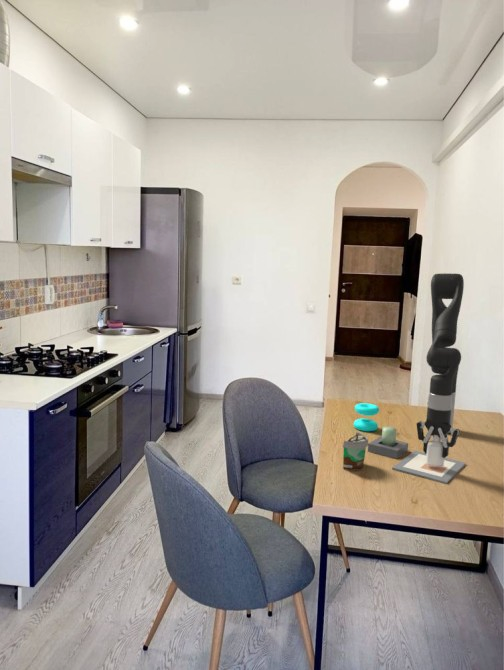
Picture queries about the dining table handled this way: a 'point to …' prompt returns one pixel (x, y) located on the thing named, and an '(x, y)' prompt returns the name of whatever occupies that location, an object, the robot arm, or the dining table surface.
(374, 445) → the button housing
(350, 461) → the food container
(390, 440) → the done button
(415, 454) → the sketch board
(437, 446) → the eye dropper bottle
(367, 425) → the donuts
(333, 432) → the dining table surface
